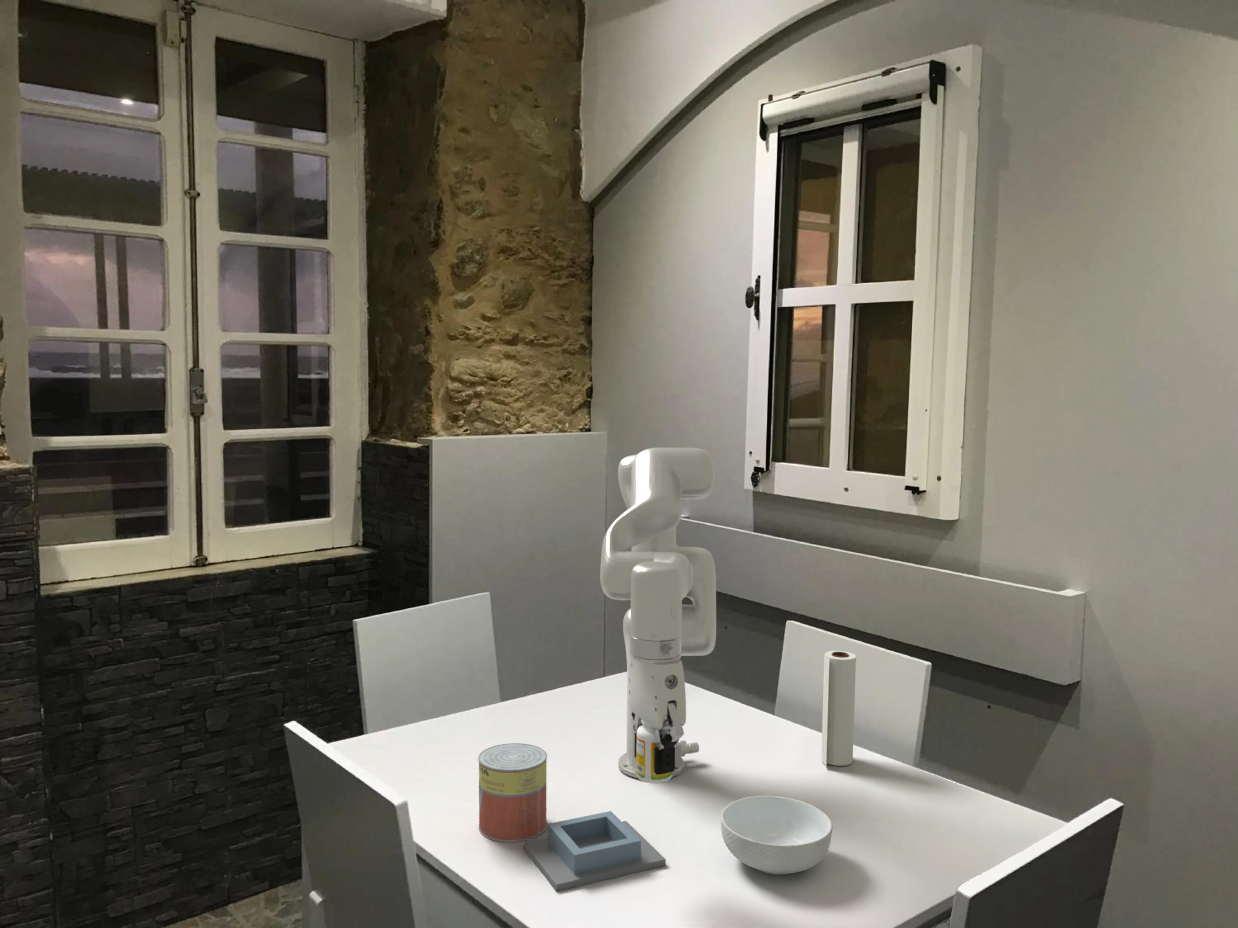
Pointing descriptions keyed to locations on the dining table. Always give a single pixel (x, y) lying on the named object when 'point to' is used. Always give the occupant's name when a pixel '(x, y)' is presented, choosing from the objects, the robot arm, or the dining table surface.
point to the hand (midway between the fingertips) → (654, 763)
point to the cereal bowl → (776, 833)
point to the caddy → (591, 851)
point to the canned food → (512, 792)
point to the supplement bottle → (648, 754)
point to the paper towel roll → (838, 708)
